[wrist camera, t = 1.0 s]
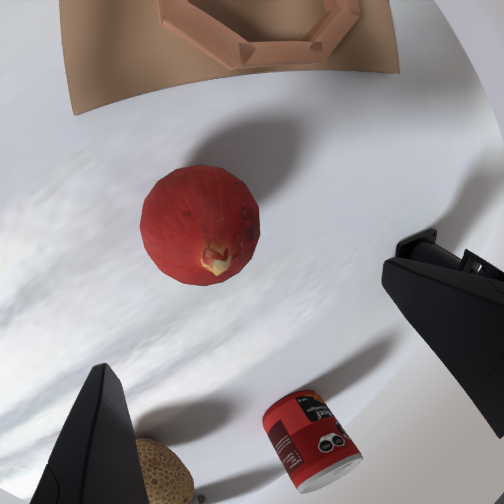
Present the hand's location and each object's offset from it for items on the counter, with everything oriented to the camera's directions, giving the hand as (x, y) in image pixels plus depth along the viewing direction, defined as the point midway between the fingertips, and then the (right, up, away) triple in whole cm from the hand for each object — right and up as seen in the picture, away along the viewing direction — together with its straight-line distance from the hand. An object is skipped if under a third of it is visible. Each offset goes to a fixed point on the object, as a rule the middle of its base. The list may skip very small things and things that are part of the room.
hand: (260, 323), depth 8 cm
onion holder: (0, +18, +4) cm, 18 cm away
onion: (-4, +5, +9) cm, 12 cm away
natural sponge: (-13, -19, +18) cm, 30 cm away
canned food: (+4, -17, +25) cm, 31 cm away
